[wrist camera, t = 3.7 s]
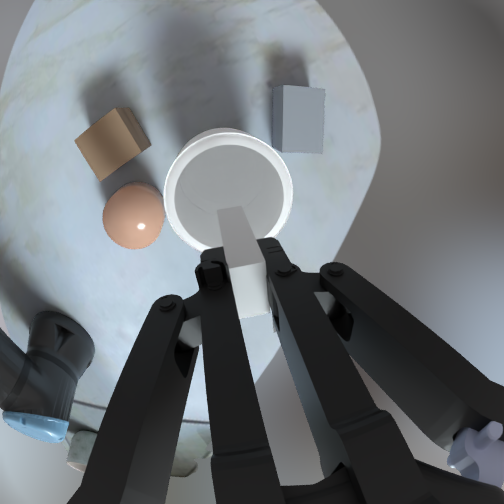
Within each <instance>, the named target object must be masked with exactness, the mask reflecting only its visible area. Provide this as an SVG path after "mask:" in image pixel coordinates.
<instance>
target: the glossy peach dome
mask: <svg viewBox="0 0 504 504" xmlns="http://www.w3.org/2000/svg"><path fill="white" fill-rule="evenodd" d="M165 216H166V212H165V207H164V199H163V197H162V195H161V193H160V192H159V191H158V190H157V189H156V188H155V187H153V186H152V185H150V184H147V183H144V182H130V183H127V184H125V185H124V186H122V187H121V188H120V189H119V190H118V191H117V192H116V193H115V194H114V195H113V196H112V197H111V198H110V199H109V200H108V202H107V203H106V205H105V207H104V210H103V225H104V228H105V231H106V232H107V234H108V236H109V237H110V238H111V239H112V240H113V241H114V242H115V243H117V244H118V245H120V246H122V247H125V248H128V249H141V248H144V247H147V246H149V245H150V244H152V243H153V242H154V241H155V240H156V239H157V237H158V236H159V234H160V232H161V229H162V226H163V222H164V219H165Z"/></svg>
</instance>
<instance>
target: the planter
mask: <svg viewBox="0 0 504 504" xmlns="http://www.w3.org/2000/svg"><path fill="white" fill-rule="evenodd" d="M96 437H97V433H94V432H90V431H79V432H77V433H75V435H74V436H73V438H72V440H71V444H70V449H69V453H68V458H67V464H68V465H69V466H71V467H72V468H75V469H77V470H79V471H81V472H84V473H85V470H86V466H87V463H88V460H89V457H90V454H91V451H92V448H93V445H94V442H95V439H96Z"/></svg>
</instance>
